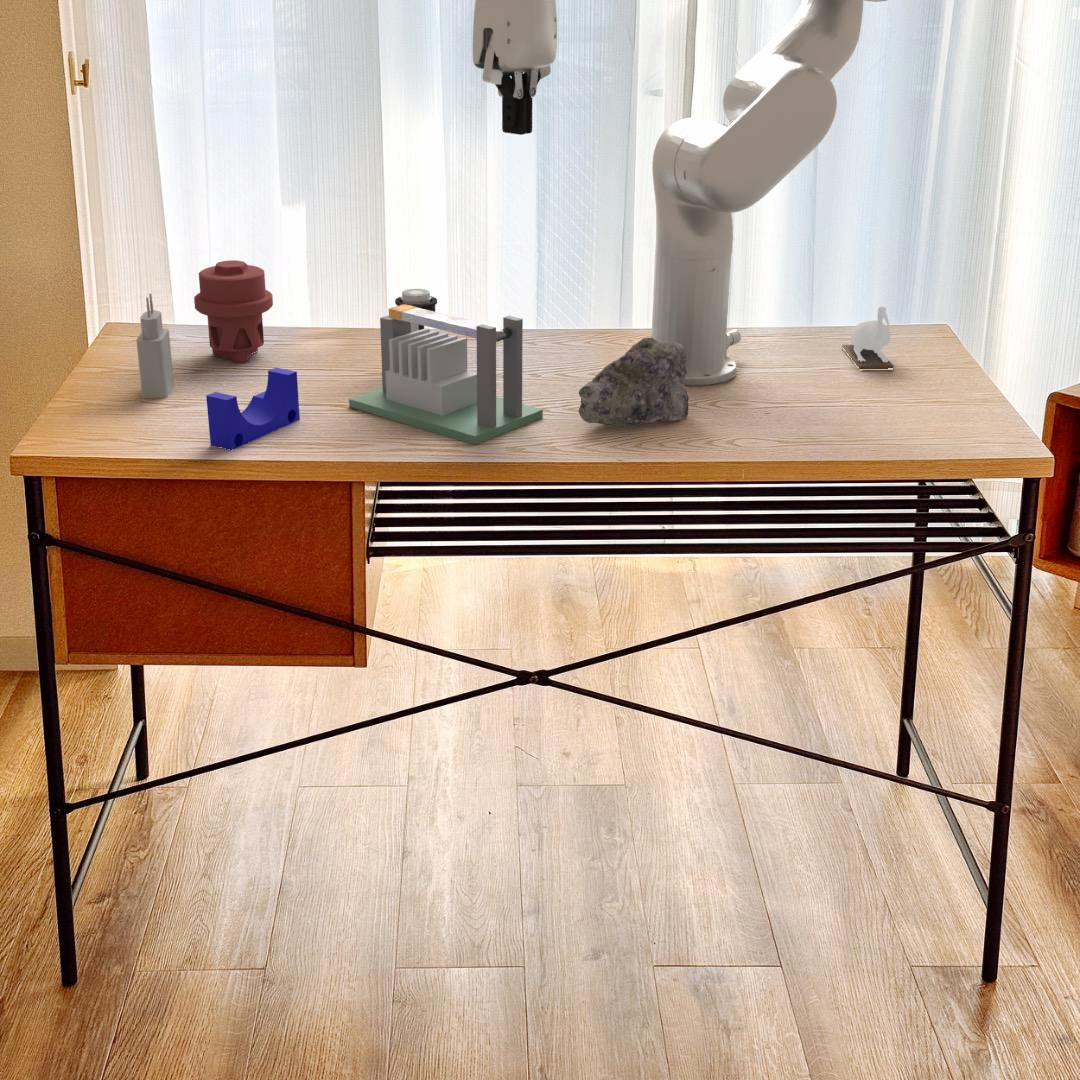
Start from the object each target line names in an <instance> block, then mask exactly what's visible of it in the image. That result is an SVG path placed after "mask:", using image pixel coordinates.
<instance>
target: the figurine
mask: <svg viewBox="0 0 1080 1080" xmlns="http://www.w3.org/2000/svg"><path fill="white" fill-rule="evenodd" d="M886 311H887V308H886V307H885V306H878V309H877V320H867V321H863V322H860V323H857V325H855V326H854V327H853V329H852V330H851V331H852V332H851V335H850V344H842V345H841V348H842V347H843V348H844V349H845V350H846V352H847V353H848V354H849V356H850V357H851V358H852V360H853V361H854V362H855V363H856V365H857V366H858V367H859V369H888V368H893V369H894V364H893V363H892V362H891V359H890V358H888V357H887V356H885V354H884V353H883V352H882V351H881V350H882V349H884V347H886V346H888V345H889V344H890V343H891V342H890V341H891V331H890V330H891V329H890V322H889V318H888V315H887V312H886ZM883 319H884V321H885V323H884V321H883ZM859 369H858V370H859Z"/></svg>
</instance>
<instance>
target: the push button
mask: <svg viewBox="0 0 1080 1080" xmlns="http://www.w3.org/2000/svg"><path fill="white" fill-rule="evenodd" d="M394 304H395V305H396V306H399V305H403V304H406V305H411V306H415V307H417V308H421V309H425V310H430V311H434V312H436V305H437V304H438V299H437V298H436V297H435V296H432V295H431V292H430V290H427V289H423V288H411V289H405V290H403V291H402V292H401V296H399V297H397V298H395V299H394ZM422 329H425V326H423V325H419V324H415V323H411V322H410V333H412V332H415V331H419V330H422Z"/></svg>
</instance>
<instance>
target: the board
mask: <svg viewBox="0 0 1080 1080" xmlns="http://www.w3.org/2000/svg"><path fill="white" fill-rule="evenodd" d="M523 322H524V321H523V318H520V317H516V316H511V315H507V316H504V317H502V325H503V326H502V328H510V330H511V331H512V336H511V337H510V338H507V339H504V340H502V348H503V352H502V353H503V355H502V357H503V358H502V359H503V363H502V364H503V366H502V369H503V370H502V371H503V377H502V378H503V380H502V383H503V384H502V389H503V392H502V394H503V395H502V396H503V398H502V397H498V396H497V342H496V327H493V326H489V325H484V324H481V325H478V326H476V328H477V338H476V372H473V371H470V370H468V338H467V337H461V338H458V335H456V334H453V335H450V336H449V332H448V333H447V332H443V333H440V331H439V330H437V329H436V330H433V331H430V328H428V327H426V328H425V327H424V329H422V330H419V331H415V332H412V333H410V322H407V321H403V320H402V321H400V320H396V319H392V318H389V314H388V315H385V316H382V317H380V318H379V324H380V327H379V328H380V329H379V330H380V351H381V352H380V354H381V355H380V356H381V380H382V381H381V382H382V383H381V384H382V385H381V386H382V387H380V388H377V389H374V390H371V391H369V392H365V393H362V394H360V395H356V396H353V397H350V398H349V399H348V405H349V408H351V409H356V410H358V411H362V412H366V413H369V414H372V415H375V416H379V417H381V418H385V419H388V420H392V421H395V422H398V423H402V424H405V425H408V426H411V427H415V428H417V429H418V428H419V429H422V430H425V431H428V432H432V433H435V434H439V435H442V436H445V437H449V438H452V439H455V440H458V441H462V442H465V443H468V444H471V445H478V444H480V443H483V442H485V441H488V440H491V439H493V438H495V437H498V436H500V435H503V434H505V433H508V432H510V431H513V430H516V429H518V428H520V427H521V428H522V426H525V425H528V424H530V423H532V422H535V421H538V420H540V419H543V416H544V414H543V413H544V410H543V409H542V408H538V407H534V406H530V405H528V404H524V403H523V332H524V331H523V330H524V329H523Z"/></svg>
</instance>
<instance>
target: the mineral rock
mask: <svg viewBox="0 0 1080 1080" xmlns="http://www.w3.org/2000/svg"><path fill="white" fill-rule="evenodd" d="M685 363H686V352H685V350H684V348H683V346H682V345H681V344H680V343H678V342H669V343H659V342H657V341H656V340H654V339H653V338H652V336H651V337H643V338H642V339H641V340H639V341H638V342H637V343H635V344H633V345H632V346H631V347H630V349H629V350H628V351H626V352H625V354H624V355H622V356H620V357H619V358H618V359H616V360H614V361H612V362H610V363H609V364H608V365H605V367H604V368H602V370H601V371H600V372H598V373H597V374H596V375H595V377H593V379H592V380H591V381H589V382H587V383H586V384H584V385H583V386H582V387H581V388H580V389H579V391H578V396H579V397H580V406H579V407H578V414H579V416H580V418H581V420H583V421H585V423H589V424H599V425H603V426H617V427H626V426H636V425H637V426H638V425H642V424H645V425H646V424H648V423H654V422H658V423H659V422H666V421H668V422H674V421H678V422H679V421H682V420H683V419H687V417H688V415H689V406H690V404H689V399H690V397H689V393H688V392H689V391H688V390H687V388H686V385H685V375H686V374H687V371H686V364H685Z"/></svg>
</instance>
